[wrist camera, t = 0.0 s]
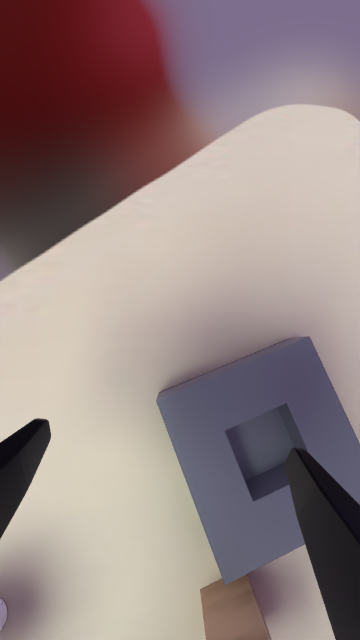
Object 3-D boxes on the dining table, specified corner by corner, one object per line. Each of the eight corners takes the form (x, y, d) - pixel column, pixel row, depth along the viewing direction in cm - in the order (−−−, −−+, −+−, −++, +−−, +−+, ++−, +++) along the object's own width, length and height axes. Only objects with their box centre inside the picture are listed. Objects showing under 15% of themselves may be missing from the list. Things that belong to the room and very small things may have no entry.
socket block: (352, 478, 22) (387, 502, 19) (215, 545, 21) (225, 585, 18) (288, 338, 24) (309, 336, 21) (158, 393, 23) (156, 400, 19)
